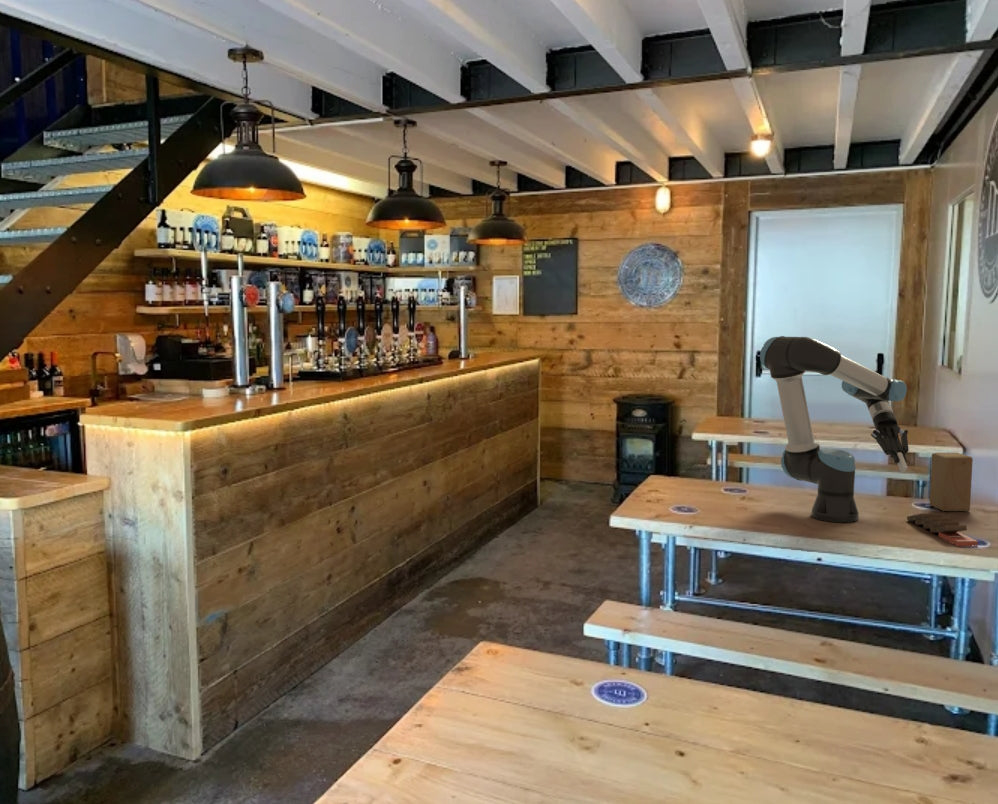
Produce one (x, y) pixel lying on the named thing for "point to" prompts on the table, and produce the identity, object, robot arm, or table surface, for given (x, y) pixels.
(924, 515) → the tile
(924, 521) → the tile
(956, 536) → the end tile
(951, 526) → the tile
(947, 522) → the tile
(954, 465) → the wooden block
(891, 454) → the robot arm
